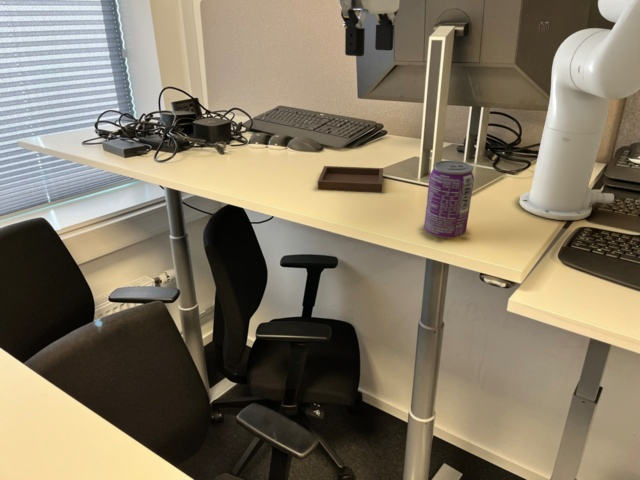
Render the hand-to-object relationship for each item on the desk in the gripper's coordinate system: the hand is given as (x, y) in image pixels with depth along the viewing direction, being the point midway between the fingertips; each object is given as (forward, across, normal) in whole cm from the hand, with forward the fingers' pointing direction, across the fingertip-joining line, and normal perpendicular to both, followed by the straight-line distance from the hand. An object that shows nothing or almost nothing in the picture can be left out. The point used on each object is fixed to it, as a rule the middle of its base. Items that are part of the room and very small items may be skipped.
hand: (369, 52), depth 78 cm
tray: (+28, +11, +10) cm, 32 cm away
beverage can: (+29, -1, -17) cm, 33 cm away
